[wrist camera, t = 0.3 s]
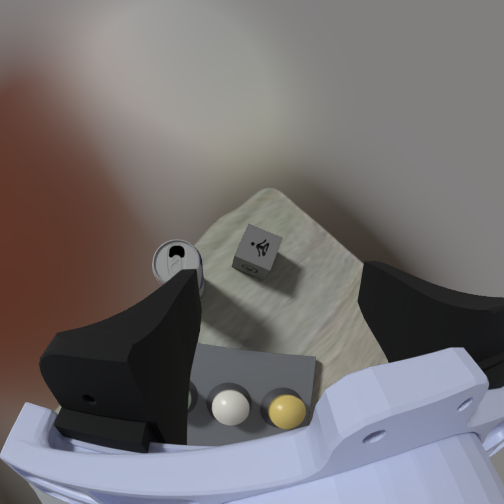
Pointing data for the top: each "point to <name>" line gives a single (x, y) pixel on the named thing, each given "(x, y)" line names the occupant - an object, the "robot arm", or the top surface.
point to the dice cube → (256, 252)
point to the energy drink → (177, 261)
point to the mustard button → (286, 411)
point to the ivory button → (230, 407)
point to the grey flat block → (244, 391)
